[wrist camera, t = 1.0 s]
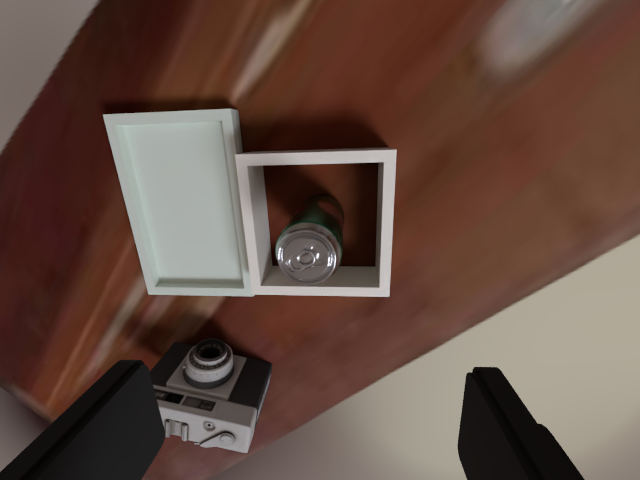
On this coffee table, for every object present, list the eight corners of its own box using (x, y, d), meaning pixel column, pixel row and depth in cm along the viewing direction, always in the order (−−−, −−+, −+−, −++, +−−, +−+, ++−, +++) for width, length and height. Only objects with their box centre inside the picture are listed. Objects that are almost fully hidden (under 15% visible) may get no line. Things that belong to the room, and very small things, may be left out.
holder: (252, 151, 31) (234, 154, 26) (389, 147, 30) (396, 149, 25) (265, 273, 36) (252, 294, 31) (383, 274, 34) (389, 296, 29)
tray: (117, 115, 31) (102, 114, 29) (238, 110, 30) (230, 108, 28) (158, 286, 38) (148, 294, 36) (258, 288, 36) (253, 296, 34)
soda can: (352, 225, 33) (354, 273, 21) (312, 245, 34) (294, 300, 22) (330, 184, 31) (320, 212, 20) (290, 206, 33) (258, 244, 21)
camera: (277, 340, 39) (254, 405, 29) (269, 387, 42) (246, 460, 32) (174, 317, 39) (119, 375, 30) (173, 365, 42) (122, 432, 33)
